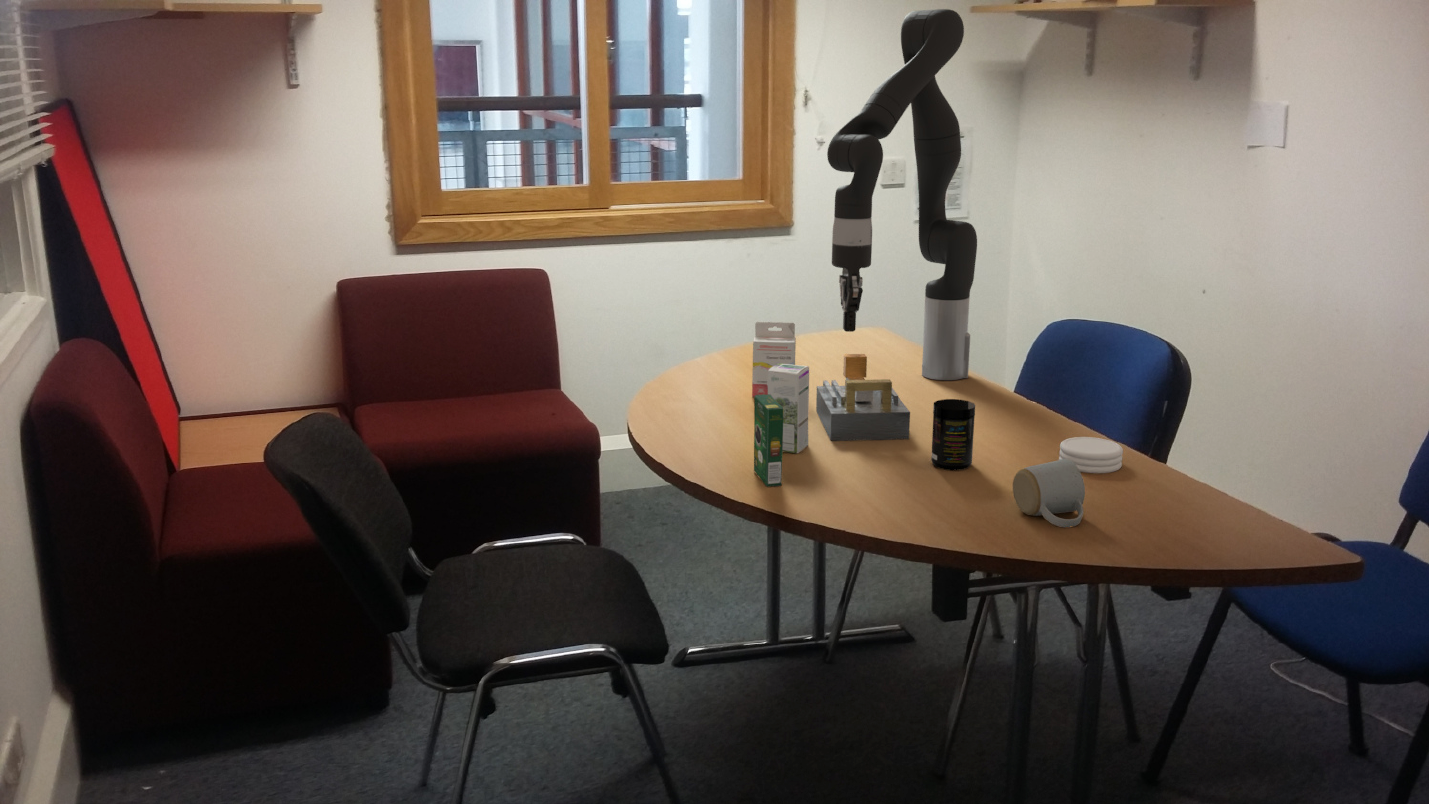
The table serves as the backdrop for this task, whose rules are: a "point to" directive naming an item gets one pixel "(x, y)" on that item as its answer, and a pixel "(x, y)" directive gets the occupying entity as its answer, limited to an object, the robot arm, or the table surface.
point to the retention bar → (857, 373)
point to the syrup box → (791, 402)
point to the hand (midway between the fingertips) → (849, 330)
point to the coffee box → (768, 439)
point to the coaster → (1092, 454)
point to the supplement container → (952, 434)
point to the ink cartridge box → (771, 352)
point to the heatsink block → (862, 411)
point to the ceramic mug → (1050, 491)
